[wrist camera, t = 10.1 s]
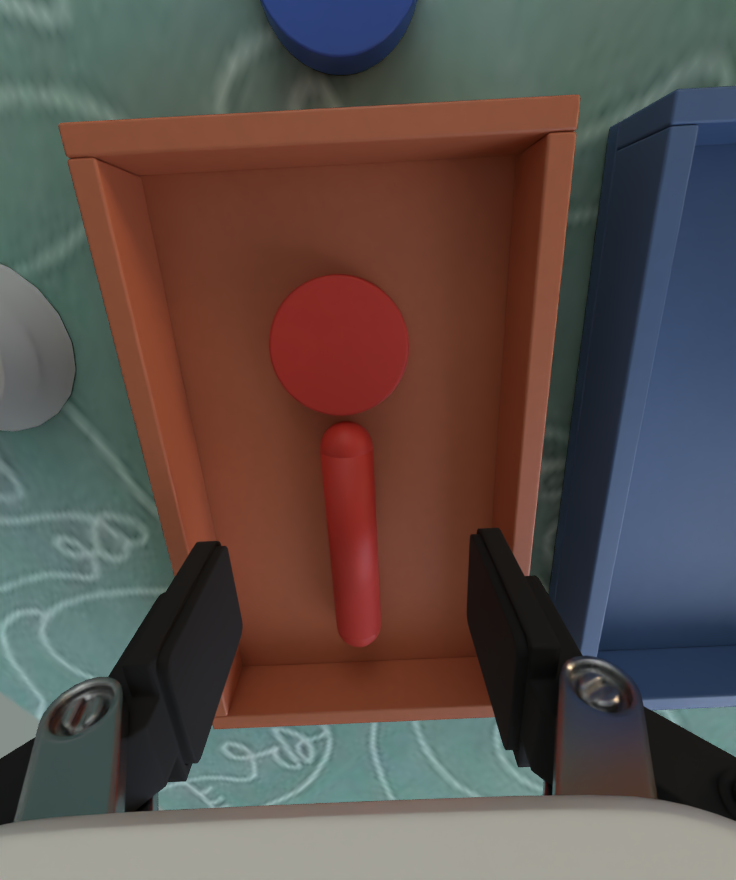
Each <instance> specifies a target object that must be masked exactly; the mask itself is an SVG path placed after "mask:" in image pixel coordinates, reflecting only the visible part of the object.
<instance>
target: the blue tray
mask: <svg viewBox="0 0 736 880" xmlns="http://www.w3.org/2000/svg"><path fill="white" fill-rule="evenodd" d="M549 597H550V599H551V601H552V602H553V604H554V606H555V608H556V609H557V611H558V613H559V615H560V616H561V618H562V620H563V622H564V624H565V625H566V627H567V629H568V631H569V632H570V634H571V636H572V638H573V639H574V641H575V643H576V645H577V646H578V648H579V650H580V652H581V654H582V655H583V656H585V655H587V656H593V657H599V658H601V659H604V660H607V661H609V662H611V663H613V664H614V665H616V666H618V667H619V668H621V669H622V670H623V671H625V672H626V673H627V674H628V675H629V676H630V677H631V678H632V679H633V681H634V682H635V683H636V685H637V686H638V688H639V690H640V693H641V696H642V700H643V706H644V707H646V708H648V709H650V710H667V709H690V708H713V707H736V86H723V87H705V88H687V89H677V90H675V91H673V92H672V93H670V94H668V95H666V96H665V97H663V98H661V99H659V100H658V101H656V102H654V103H652V104H651V105H649V106H647V107H645V108H644V109H642V110H640V111H638V112H637V113H635V114H633V115H631V116H630V117H628V118H626V119H624V120H623V121H621V122H619V123H617V124H615V125H613V126H612V127H610V129H609V136H608V144H607V152H606V160H605V167H604V175H603V183H602V190H601V198H600V206H599V213H598V221H597V229H596V237H595V244H594V252H593V260H592V267H591V275H590V283H589V291H588V298H587V306H586V314H585V321H584V329H583V337H582V345H581V352H580V360H579V368H578V375H577V383H576V391H575V398H574V406H573V414H572V422H571V429H570V437H569V445H568V452H567V460H566V468H565V476H564V483H563V491H562V499H561V506H560V514H559V522H558V529H557V537H556V545H555V553H554V560H553V568H552V576H551V583H550V591H549Z"/></svg>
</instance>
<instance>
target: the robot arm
mask: <svg viewBox="0 0 736 880" xmlns="http://www.w3.org/2000/svg"><path fill="white" fill-rule="evenodd" d="M467 622H468V627H469V630H470V634H471V637H472V640H473V644H474V647H475V651H476V654H477V657H478V661H479V664H480V668H481V671H482V674H483V678H484V681H485V685H486V688H487V692H488V695H489V698H490V702H491V705H492V709H493V712H494V715H495V719H496V722H497V726H498V729H499V732H500V736H501V739H502V743H503V746H504V748H505V749H506V750H513V752H514V755H515V759H516V762H517V765H518V767H530V768H531V771H533V772H534V773H535V774H537V775H538V776H539V777H541V778H542V779H543V780H544V782H543V796H503V797H474V798H446V799H418V800H390V801H365V802H341V803H316V804H293V805H269V806H246V807H225V808H204V809H183V810H162V811H158V792H159V791H160V790H162V789H163V788H164V787H165V786H166V785H167V782H179V781H186V780H187V777H188V774H189V771H190V768H191V766H192V763H198V762H199V760H200V759H201V756H202V753H203V750H204V747H205V744H206V741H207V738H208V735H209V732H210V729H211V726H212V723H213V720H214V717H215V714H216V711H217V708H218V705H219V702H220V699H221V696H222V693H223V690H224V687H225V684H226V681H227V678H228V675H229V672H230V669H231V666H232V663H233V660H234V657H235V654H236V651H237V648H238V645H239V642H240V639H241V635H242V629H243V623H242V617H241V612H240V607H239V602H238V597H237V592H236V587H235V582H234V577H233V572H232V566H231V561H230V556H229V551H228V548H227V546H221V543H220V542H219V541H200V542H196V544H195V545H194V547H193V548H192V550H191V552H190V553H189V555H188V556H187V558H186V560H185V561H184V563H183V565H182V566H181V568H180V570H179V571H178V573H177V574H176V576H175V578H174V579H173V581H172V583H171V584H170V586H169V588H168V589H167V591H166V592H164V593H162V594H161V595H160V596H159V597H158V598H157V600H156V601H155V603H154V604H153V606H152V608H151V609H150V611H149V612H148V614H147V616H146V617H145V619H144V620H143V622H142V624H141V625H140V627H139V628H138V630H137V632H136V633H135V635H134V636H133V638H132V640H131V641H130V643H129V644H128V646H127V648H126V649H125V651H124V652H123V654H122V656H121V657H120V659H119V660H118V662H117V664H116V665H115V667H114V668H113V670H112V672H111V673H110V675H109V676H108V677H96V678H92V679H88V680H85V681H83V682H81V683H79V684H76V685H74V686H73V687H71V688H70V689H68V690H67V691H65V692H64V693H62V694H61V695H60V696H59V697H58V698H57V699H55V700H54V701H53V702H52V703H51V704H50V706H49V707H48V708H47V710H46V711H45V712H44V714H43V716H42V718H41V720H40V723H39V726H38V729H37V733H36V737H35V738H33V739H32V740H30V741H28V742H27V743H25V744H24V745H22V746H20V747H19V748H17V749H15V750H14V751H12V752H11V753H9V754H8V755H6V756H4V757H3V758H1V759H0V880H736V757H734V756H732V755H731V754H729V753H727V752H725V751H723V750H722V749H720V748H718V747H716V746H714V745H713V744H711V743H709V742H707V741H705V740H704V739H702V738H700V737H698V736H696V735H695V734H693V733H691V732H689V731H687V730H686V729H684V728H682V727H680V726H678V725H677V724H675V723H673V722H671V721H669V720H668V719H666V718H664V717H662V716H660V715H659V714H657V713H655V712H653V711H651V710H650V709H648V708H646V707H644V706H643V700H642V696H641V693H640V690H639V688H638V686H637V685H636V683H635V682H634V681H633V679H632V678H631V677H630V676H629V675H628V674H627V673H626V672H625V671H623V670H622V669H621V668H619V667H618V666H616V665H614V664H613V663H611V662H609V661H607V660H604V659H601V658H599V657H593V656H587V655H585V656H583V655H582V654H581V652H580V650H579V648H578V646H577V645H576V643H575V641H574V639H573V638H572V636H571V634H570V632H569V631H568V629H567V627H566V625H565V624H564V622H563V620H562V618H561V616H560V615H559V613H558V611H557V609H556V608H555V606H554V604H553V602H552V601H551V599H550V597H549V595H548V594H547V592H546V590H545V588H544V586H543V585H542V583H541V581H540V580H539V578H538V577H536V576H524V574H523V572H522V570H521V568H520V566H519V564H518V562H517V560H516V558H515V557H514V555H513V553H512V551H511V549H510V547H509V545H508V543H507V541H506V539H505V537H504V536H503V534H502V532H501V530H500V529H499V528H479V529H477V533H476V534H471V535H470V543H469V566H468V588H467Z"/></svg>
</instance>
